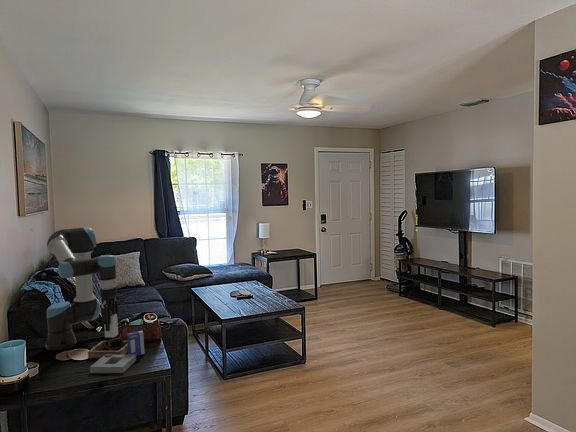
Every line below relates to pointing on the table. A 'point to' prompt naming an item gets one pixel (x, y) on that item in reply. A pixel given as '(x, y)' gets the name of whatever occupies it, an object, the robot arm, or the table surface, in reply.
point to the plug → (113, 325)
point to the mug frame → (98, 353)
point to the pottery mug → (115, 344)
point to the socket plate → (113, 363)
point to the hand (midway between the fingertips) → (111, 335)
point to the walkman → (135, 343)
